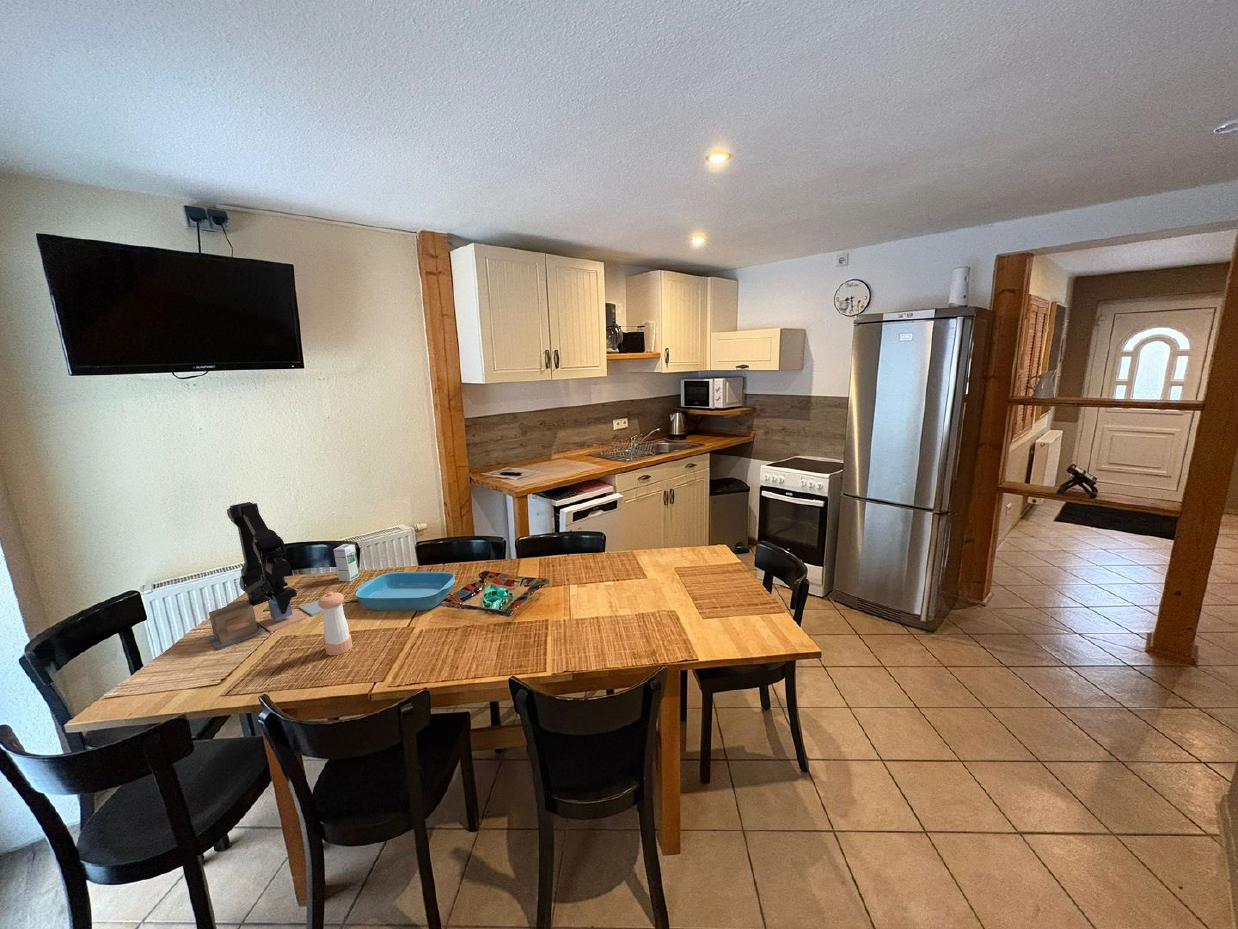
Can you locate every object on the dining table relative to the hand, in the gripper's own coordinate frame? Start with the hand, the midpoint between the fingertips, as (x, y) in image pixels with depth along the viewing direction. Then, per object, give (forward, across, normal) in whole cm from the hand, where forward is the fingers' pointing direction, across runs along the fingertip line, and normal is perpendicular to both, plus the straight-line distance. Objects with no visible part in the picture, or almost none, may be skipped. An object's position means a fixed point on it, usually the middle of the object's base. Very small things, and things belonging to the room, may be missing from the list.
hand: (280, 611), depth 175 cm
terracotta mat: (+4, 0, 0) cm, 4 cm away
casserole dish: (+4, +24, +34) cm, 42 cm away
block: (+2, 0, 0) cm, 2 cm away
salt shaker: (+4, +37, +3) cm, 37 cm away
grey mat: (+4, 0, +13) cm, 13 cm away
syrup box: (+4, -17, +31) cm, 36 cm away
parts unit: (+4, -2, -13) cm, 14 cm away
